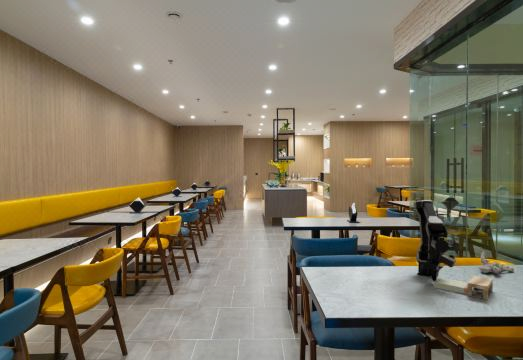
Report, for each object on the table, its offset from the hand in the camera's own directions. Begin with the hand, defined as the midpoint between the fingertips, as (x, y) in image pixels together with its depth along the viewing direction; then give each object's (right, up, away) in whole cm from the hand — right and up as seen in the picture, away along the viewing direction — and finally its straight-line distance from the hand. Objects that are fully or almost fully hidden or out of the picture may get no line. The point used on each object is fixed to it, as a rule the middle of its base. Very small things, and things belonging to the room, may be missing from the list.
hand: (434, 281), depth 154 cm
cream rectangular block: (+6, -2, -5) cm, 8 cm away
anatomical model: (+45, -2, +26) cm, 51 cm away
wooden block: (+13, -2, -12) cm, 18 cm away
